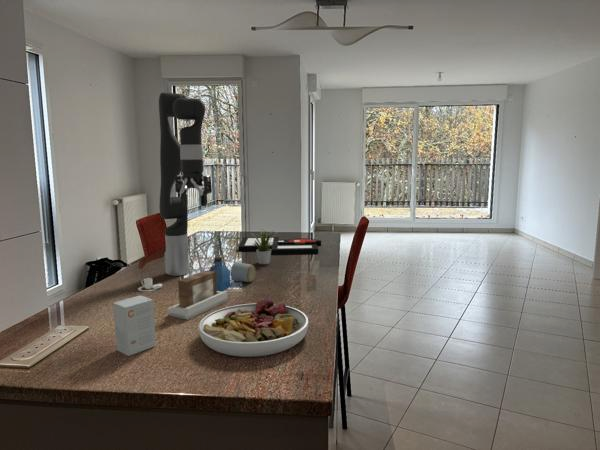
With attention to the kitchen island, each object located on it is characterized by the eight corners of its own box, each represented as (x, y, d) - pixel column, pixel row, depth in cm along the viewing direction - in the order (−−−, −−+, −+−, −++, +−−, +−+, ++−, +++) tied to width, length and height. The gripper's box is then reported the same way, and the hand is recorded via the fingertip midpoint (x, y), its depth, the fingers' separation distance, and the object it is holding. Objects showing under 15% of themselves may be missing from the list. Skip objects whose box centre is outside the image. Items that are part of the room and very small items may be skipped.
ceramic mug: (249, 284, 174) (248, 265, 173) (230, 283, 177) (229, 264, 176) (260, 278, 184) (259, 260, 183) (242, 276, 187) (241, 258, 186)
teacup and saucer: (165, 288, 172) (165, 278, 172) (149, 293, 165) (148, 283, 165) (149, 285, 176) (148, 275, 176) (133, 290, 170) (132, 280, 169)
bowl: (299, 366, 106) (298, 334, 105) (181, 358, 111) (179, 328, 110) (314, 320, 136) (314, 295, 135) (220, 316, 140) (219, 292, 139)
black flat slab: (236, 255, 227) (324, 254, 228) (236, 250, 227) (324, 248, 228) (243, 242, 263) (319, 241, 264) (243, 237, 262) (319, 236, 263)
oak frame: (189, 312, 141) (188, 281, 139) (179, 310, 143) (177, 280, 141) (217, 299, 153) (216, 271, 151) (207, 298, 155) (206, 270, 153)
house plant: (287, 263, 207) (286, 229, 205) (262, 268, 199) (261, 232, 197) (270, 258, 219) (269, 225, 216) (246, 262, 210) (245, 228, 208)
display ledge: (168, 315, 141) (167, 304, 140) (208, 297, 158) (208, 288, 158) (188, 319, 137) (187, 308, 137) (227, 300, 155) (227, 291, 154)
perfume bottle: (230, 286, 172) (229, 256, 170) (222, 291, 166) (221, 260, 164) (216, 285, 174) (215, 255, 172) (208, 289, 168) (206, 259, 166)
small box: (143, 340, 122) (140, 294, 120) (156, 346, 118) (153, 299, 116) (115, 350, 116) (111, 302, 114) (128, 356, 112) (124, 307, 110)
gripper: (215, 158, 152) (217, 205, 154) (183, 158, 158) (185, 203, 161) (200, 158, 145) (203, 207, 148) (168, 158, 152) (171, 205, 154)
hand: (194, 205), depth 154 cm, fingers open, 8 cm apart
